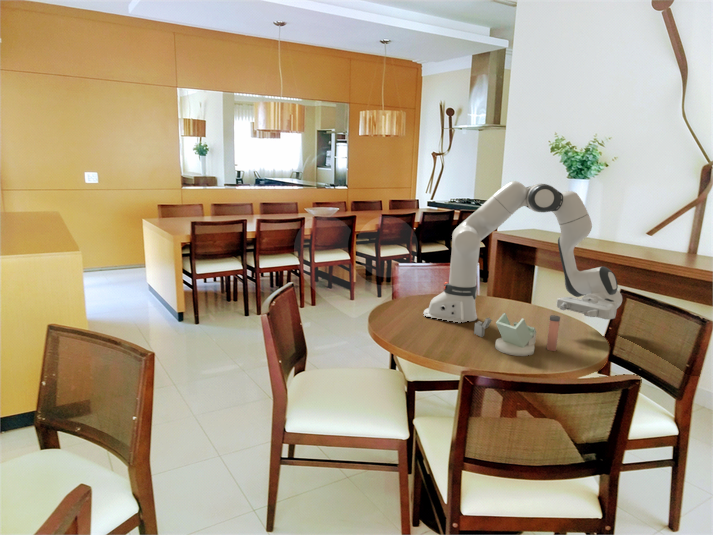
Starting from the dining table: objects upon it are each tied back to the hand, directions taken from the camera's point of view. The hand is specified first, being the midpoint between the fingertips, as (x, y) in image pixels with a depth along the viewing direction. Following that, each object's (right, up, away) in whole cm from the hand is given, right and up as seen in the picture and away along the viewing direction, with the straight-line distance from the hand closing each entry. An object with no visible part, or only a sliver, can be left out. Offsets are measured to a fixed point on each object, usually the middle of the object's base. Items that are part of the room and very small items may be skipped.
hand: (573, 310), depth 175 cm
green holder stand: (-23, -13, -6) cm, 27 cm away
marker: (-10, -13, -5) cm, 18 cm away
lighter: (-32, -10, +6) cm, 34 cm away
